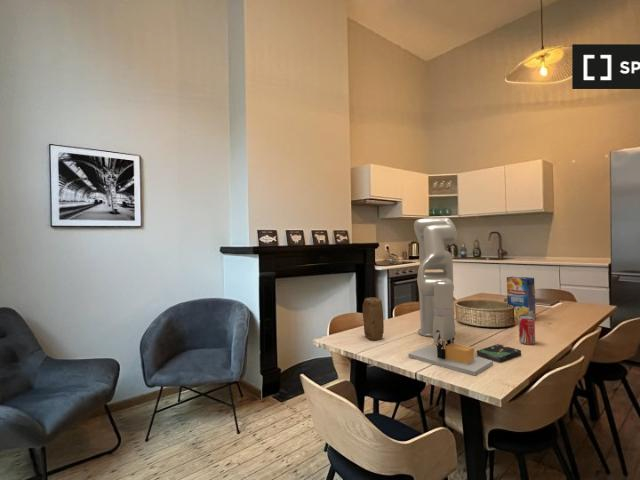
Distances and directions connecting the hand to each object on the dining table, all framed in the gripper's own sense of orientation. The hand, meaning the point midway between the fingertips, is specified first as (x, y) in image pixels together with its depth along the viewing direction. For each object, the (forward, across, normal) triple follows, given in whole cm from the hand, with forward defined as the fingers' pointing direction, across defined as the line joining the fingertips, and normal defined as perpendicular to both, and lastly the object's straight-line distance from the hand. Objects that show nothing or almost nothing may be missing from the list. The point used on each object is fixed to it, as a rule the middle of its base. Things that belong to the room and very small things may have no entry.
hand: (445, 355), depth 138 cm
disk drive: (+3, -19, +13) cm, 23 cm away
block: (+2, -4, -42) cm, 42 cm away
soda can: (+2, -44, +16) cm, 47 cm away
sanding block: (0, 0, +6) cm, 6 cm away
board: (+2, 0, +1) cm, 2 cm away
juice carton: (+2, -90, -2) cm, 90 cm away
